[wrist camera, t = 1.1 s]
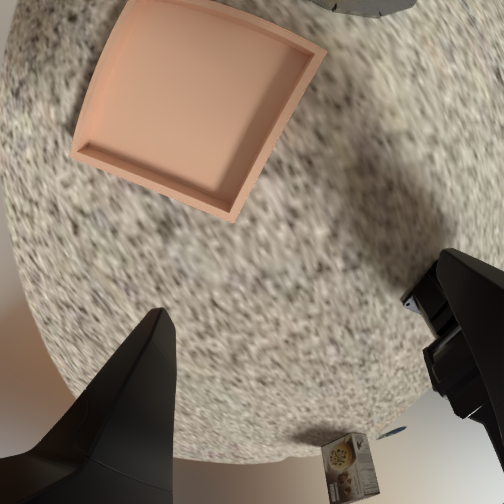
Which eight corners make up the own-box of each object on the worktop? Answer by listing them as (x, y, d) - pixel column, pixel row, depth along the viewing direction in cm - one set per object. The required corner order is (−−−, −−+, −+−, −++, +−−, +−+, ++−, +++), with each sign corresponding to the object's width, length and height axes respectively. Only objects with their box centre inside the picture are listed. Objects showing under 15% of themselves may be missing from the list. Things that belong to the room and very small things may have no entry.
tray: (318, 56, 15) (327, 51, 13) (234, 210, 21) (233, 223, 19) (148, -6, 12) (137, -16, 10) (84, 149, 18) (68, 157, 16)
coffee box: (337, 448, 53) (347, 504, 39) (319, 446, 51) (328, 507, 37) (367, 434, 49) (381, 494, 35) (351, 432, 47) (364, 497, 33)
